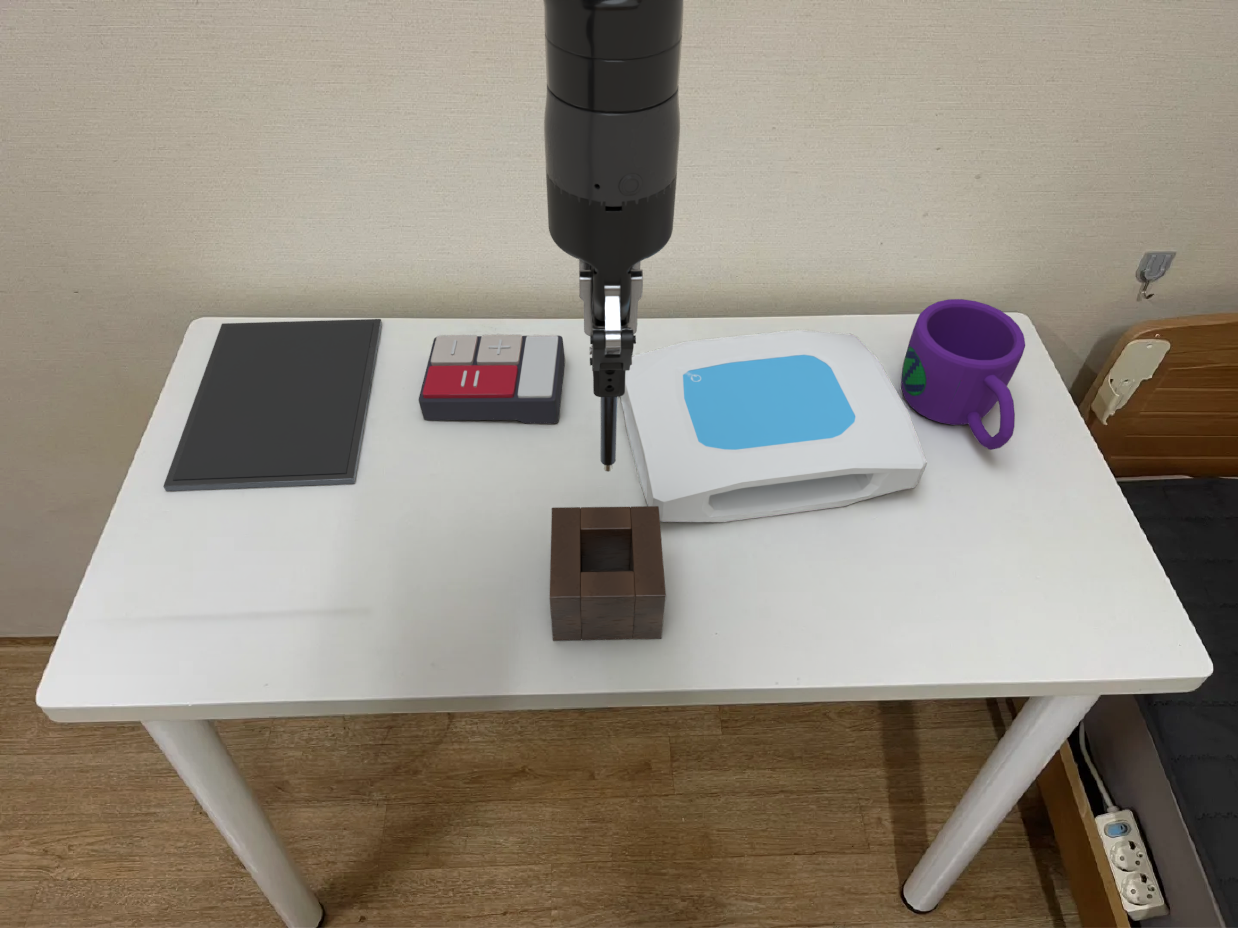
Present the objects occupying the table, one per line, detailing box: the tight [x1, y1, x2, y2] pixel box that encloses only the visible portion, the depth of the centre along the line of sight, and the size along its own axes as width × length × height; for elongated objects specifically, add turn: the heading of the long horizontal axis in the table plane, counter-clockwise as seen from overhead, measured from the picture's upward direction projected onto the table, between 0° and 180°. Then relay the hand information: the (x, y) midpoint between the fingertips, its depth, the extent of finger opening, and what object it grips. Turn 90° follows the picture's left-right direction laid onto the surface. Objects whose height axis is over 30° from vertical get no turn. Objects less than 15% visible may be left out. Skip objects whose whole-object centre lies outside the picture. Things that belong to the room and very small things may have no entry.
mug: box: [900, 298, 1026, 451], centre depth 96 cm, size 17×11×10 cm, turn 11°
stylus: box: [599, 397, 618, 473], centre depth 65 cm, size 1×1×14 cm
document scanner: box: [619, 329, 928, 523], centre depth 95 cm, size 21×28×6 cm
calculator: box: [418, 334, 566, 425], centre depth 100 cm, size 11×4×15 cm
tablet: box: [163, 318, 383, 492], centre depth 99 cm, size 26×19×1 cm
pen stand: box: [549, 505, 667, 642], centre depth 81 cm, size 10×10×7 cm
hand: (608, 384), depth 63 cm, fingers closed on stylus, 1 cm apart
